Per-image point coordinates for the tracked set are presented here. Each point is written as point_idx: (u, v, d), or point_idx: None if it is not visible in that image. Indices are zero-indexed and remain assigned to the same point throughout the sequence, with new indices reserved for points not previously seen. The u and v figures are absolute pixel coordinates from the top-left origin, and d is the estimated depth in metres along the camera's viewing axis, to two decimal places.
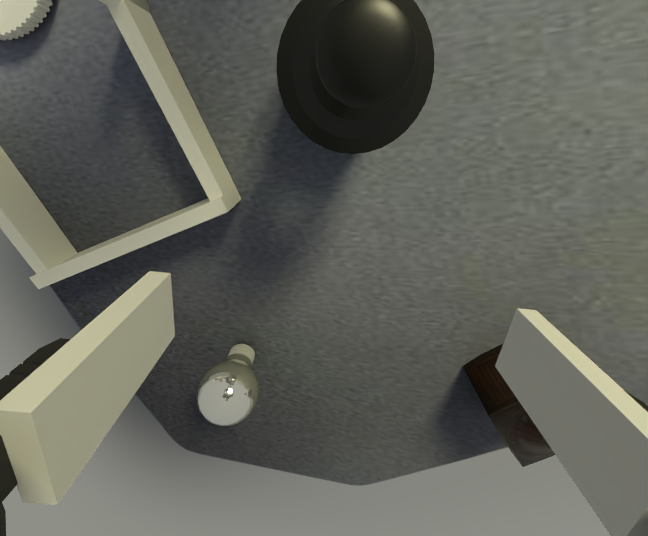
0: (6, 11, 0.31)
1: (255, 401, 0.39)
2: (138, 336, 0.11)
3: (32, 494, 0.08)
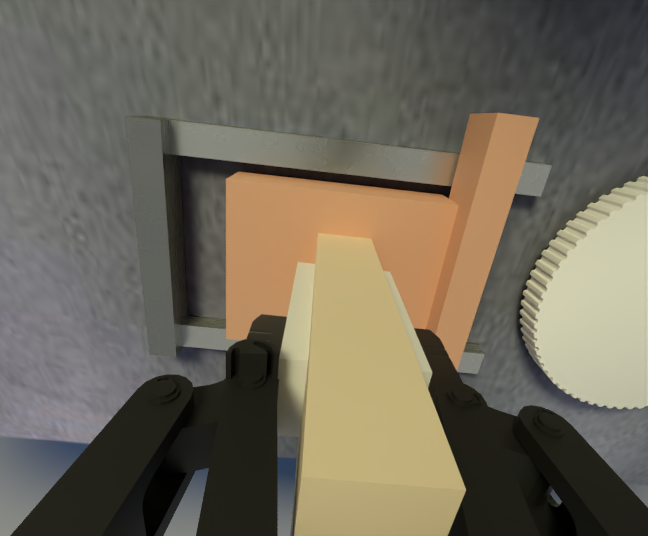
0: None
1: None
2: None
3: (283, 428, 0.10)
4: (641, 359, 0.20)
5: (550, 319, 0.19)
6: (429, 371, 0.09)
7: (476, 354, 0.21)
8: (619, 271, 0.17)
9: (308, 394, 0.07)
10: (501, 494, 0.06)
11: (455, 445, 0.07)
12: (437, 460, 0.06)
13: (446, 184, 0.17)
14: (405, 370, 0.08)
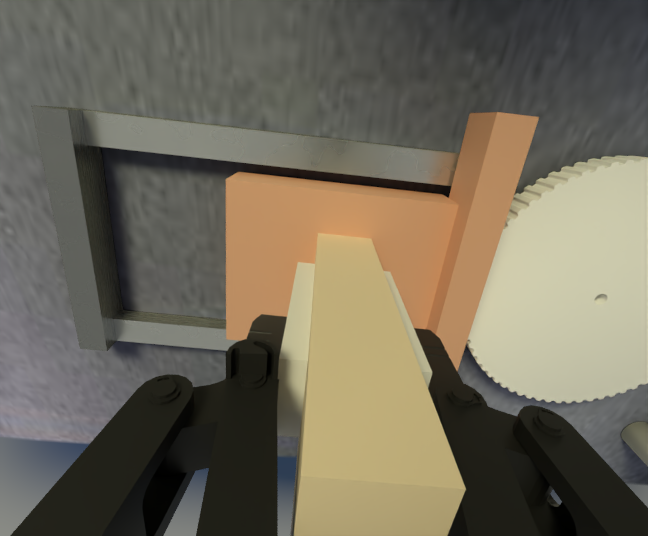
0: None
1: None
2: None
3: (284, 428, 0.10)
4: (575, 352, 0.19)
5: (479, 311, 0.18)
6: (429, 371, 0.09)
7: None
8: (544, 262, 0.17)
9: (308, 393, 0.07)
10: (501, 494, 0.06)
11: (455, 445, 0.07)
12: (437, 459, 0.06)
13: (367, 175, 0.17)
14: (405, 369, 0.08)
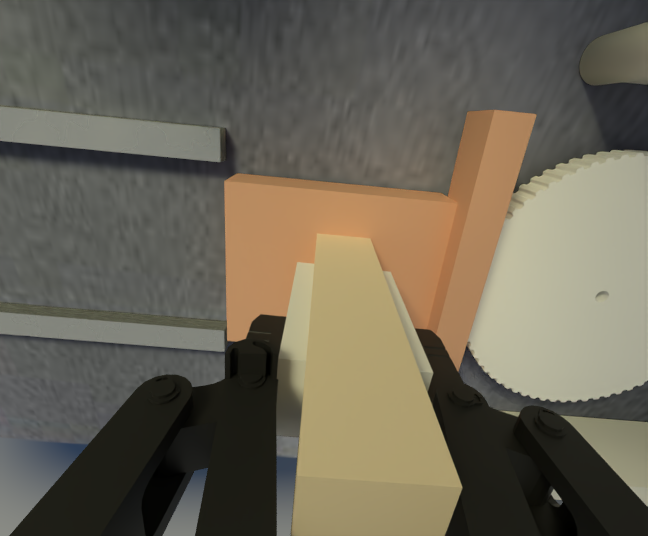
0: None
1: None
2: None
3: (282, 428, 0.10)
4: (578, 350, 0.19)
5: (478, 313, 0.18)
6: (430, 371, 0.09)
7: (215, 331, 0.20)
8: (542, 261, 0.17)
9: (304, 393, 0.07)
10: (502, 494, 0.06)
11: (456, 445, 0.07)
12: (433, 458, 0.06)
13: (119, 151, 0.16)
14: (402, 368, 0.08)
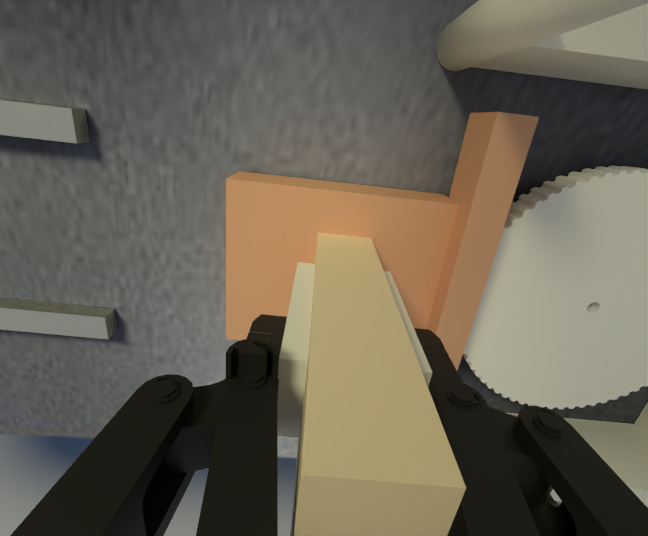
0: None
1: None
2: None
3: (283, 428, 0.10)
4: (568, 359, 0.20)
5: None
6: (429, 371, 0.09)
7: (96, 318, 0.20)
8: (538, 270, 0.17)
9: (308, 392, 0.07)
10: (501, 494, 0.06)
11: (455, 445, 0.07)
12: (437, 458, 0.06)
13: None
14: (405, 368, 0.08)
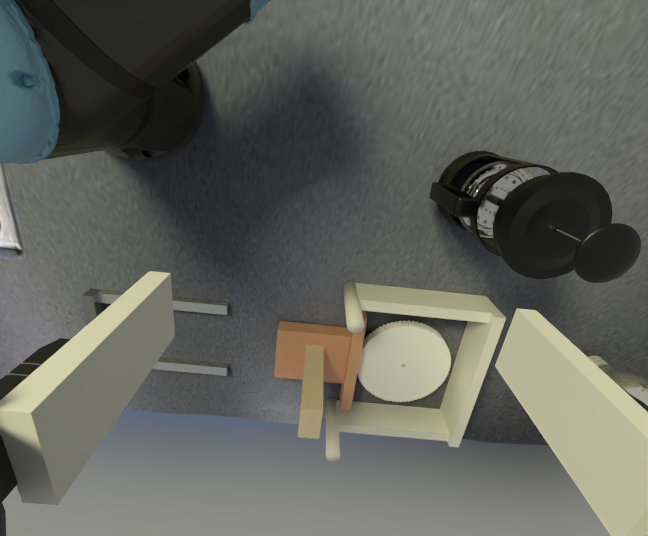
0: (440, 368, 0.52)
1: None
2: (138, 336, 0.11)
3: (32, 494, 0.08)
4: (399, 383, 0.53)
5: (362, 369, 0.52)
6: None
7: (223, 368, 0.54)
8: (381, 354, 0.51)
9: (301, 397, 0.40)
10: None
11: None
12: (320, 407, 0.39)
13: (193, 311, 0.50)
14: (320, 393, 0.41)
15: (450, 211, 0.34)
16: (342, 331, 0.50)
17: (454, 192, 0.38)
